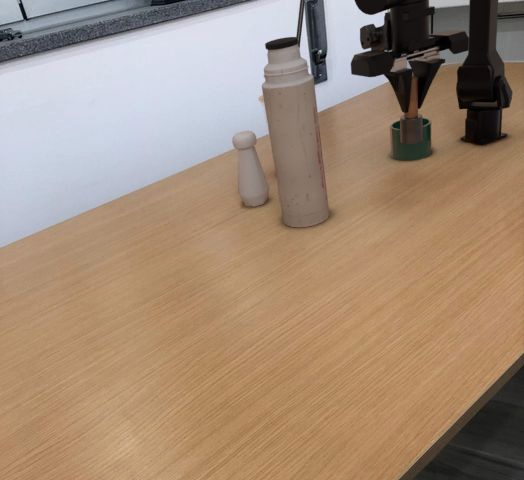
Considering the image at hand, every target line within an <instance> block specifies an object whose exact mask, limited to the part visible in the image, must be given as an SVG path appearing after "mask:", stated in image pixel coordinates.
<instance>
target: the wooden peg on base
mask: <svg viewBox="0 0 524 480" xmlns="http://www.w3.org/2000/svg"><path fill="white" fill-rule="evenodd" d="M423 118H424V117H423V114H421V113H419V109H418V77H417V76H413V75H412V84H411V95H410V105H409V110H408V112H407V113H403V115H401V116H400V117H399V120H400V133H401V143H403V144H416V143H419V142H421V141H422V140H423Z"/></svg>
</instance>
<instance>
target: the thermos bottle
mask: <svg viewBox="0 0 524 480" xmlns="http://www.w3.org/2000/svg"><path fill="white" fill-rule="evenodd" d="M264 47H265V50H267V53H266V55H267V56H266V57H267V64H266V65H265V66H264V67H263V78H264V80H265V81H264V82H263V83H262V84H261V91H262V95H263V98H264V104H265V110H266V116H267V123H268V128H267V130H268V129H269V132H268V135H269V140H270V146H271V153H272V159H273V165H274V169H275V174H276V175H275V176H276V181H277V190H278V197H279V204H280V210H281V214H282V221H283V224H285V225H286V226H287V227H292V228H308V227H312V226H316V225H319V224H321V223H323V222H325V221H326V220H327V219H328V218H329V216H330V210H329V200H328V193H327V192H328V191H327V182H326V174H325V166H324V165H325V164H324V156H323V148H322V138H321V129H320V123H319V122H320V120H319V112H318V104H317V94H316V86H315V77H314V75H313V74H311V73H309V67H310V66H309V65H308V61H307V59H305V58H304V57H302V56H301V47H300V48H299V47H298V38H297V37H296V36H286V37H280V38H276V39H273V40H270V41H267V42H266V43H264Z"/></svg>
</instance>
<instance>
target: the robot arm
mask: <svg viewBox="0 0 524 480" xmlns="http://www.w3.org/2000/svg"><path fill="white" fill-rule="evenodd" d="M468 1H469V2H468V5H469V6H468V7H469V8H468V34H467V32H466V31H465V30H450V29H449V30H447V29H446V30H442V31H438V32H434V33H430V16H433V15H435V14H436V7H435V6H433V5H432V6H431V5H430V0H354V3H355V6H356V7H357V8H358V10H359V11H361V12H362V13H363V14H365V15H368V16H373V15H376V14H379V13H382V12H385V11H387V12H385V13H384V17H383V25H381V26H377V27H376V25H375V24H374V23H370V24H366V25H363V26H361V27H360V28H359V40H360V41H359V43H360V46H361V48H362V50H367V51H363V52H360V53H359V52H358V53H356V54H354V55H353V57H352V59H351V61H350V73H351V74H350V75H352V76H358V77H365V78H376V77H379V76H384V77H385V78H386V79H387V80H388V82H389V84H390V86H391V88H392V90H393V92H394V94H395V98H396V100H397V101H398V105H399V108H400V110H401V112H402V113H403V114H404V113H407V112H408V110H409V105H410V95H411V84H412V76H417V77H418V110H420V109H422V106H423V104H424V101H425V99H426V97H427V95H428V92H429V90H430V88H431V86H432V83H433V81H434V80H435V77H436V75H437V73H438V72H439V70H440V68H441V66H442V65H443V64H445V63H446V59H445V58H441V57H440V52H442V51H446V50H449V52H451V53H452V54H453V55H458V54H463V53H464V52H467V56H466V57H465V59H464V61H463V63H462V64H461V65H460V66H458V68H457V70H456V85H455V92H456V98H457V104H458V109H459V110H466V118H465V119H464V135H463V136H461V137H460V140H461V141H464V142H468V143H471V144H476V145H479V146H480V145H481V146H485V145H487V144H490V143H493V142H496V141H499V140H501V139H504V138H507V137H508V133H506V132H503V131H502V128H503V127H502V125H503V110H504V109H505V110H506V109H509V108H510V107H511V104H512V100H513V90H512V88H511V86H510V84H509V82H508V80H507V77H506V75H505V73H506V72H505V71H506V69H505V62H504V61H503V59H502V57H501V55H500V53H499V51H497V36H498V35H497V34H498V16H499V15H498V14H499V0H468ZM388 10H389V11H388ZM368 49H369V50H368ZM408 65H409V66H410V68H408Z"/></svg>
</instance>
